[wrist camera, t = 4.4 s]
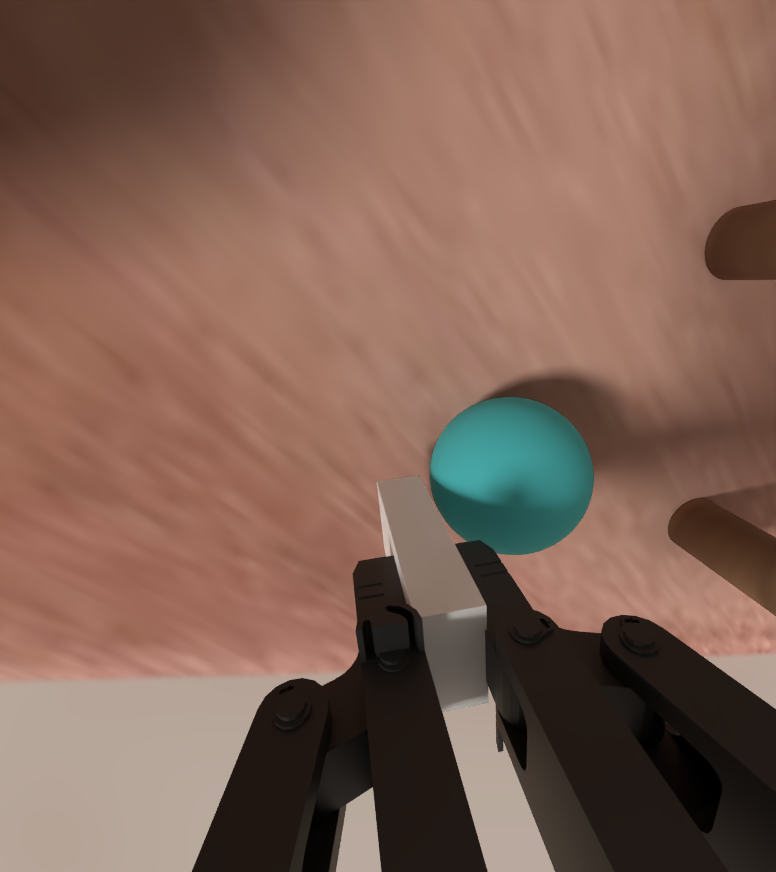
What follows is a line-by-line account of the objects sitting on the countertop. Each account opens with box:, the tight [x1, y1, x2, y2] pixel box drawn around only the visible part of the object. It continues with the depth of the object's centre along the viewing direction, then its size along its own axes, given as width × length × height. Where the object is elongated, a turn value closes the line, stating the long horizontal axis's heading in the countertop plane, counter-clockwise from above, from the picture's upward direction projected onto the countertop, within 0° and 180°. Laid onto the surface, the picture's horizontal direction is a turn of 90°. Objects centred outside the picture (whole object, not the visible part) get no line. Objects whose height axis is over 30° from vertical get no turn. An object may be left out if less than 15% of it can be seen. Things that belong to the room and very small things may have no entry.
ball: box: [430, 397, 594, 555], centre depth 15 cm, size 6×6×6 cm
